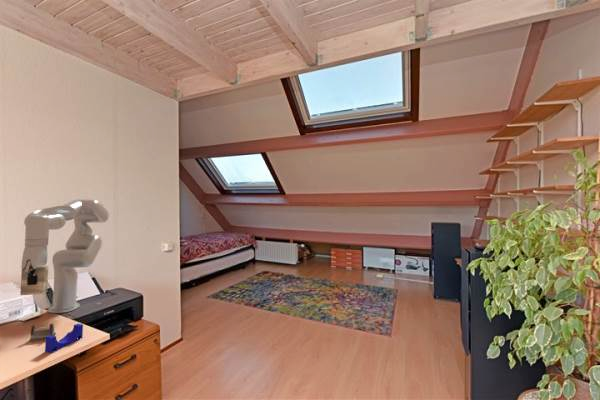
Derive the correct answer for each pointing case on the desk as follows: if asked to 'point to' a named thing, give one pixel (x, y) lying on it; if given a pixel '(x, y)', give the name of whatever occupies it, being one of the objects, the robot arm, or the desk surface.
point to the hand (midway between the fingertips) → (34, 283)
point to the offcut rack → (41, 332)
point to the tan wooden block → (41, 282)
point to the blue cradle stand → (63, 339)
